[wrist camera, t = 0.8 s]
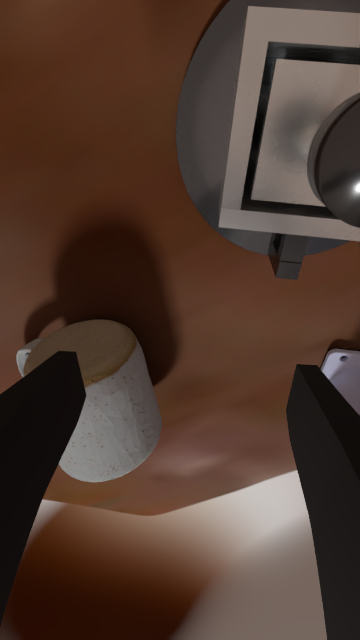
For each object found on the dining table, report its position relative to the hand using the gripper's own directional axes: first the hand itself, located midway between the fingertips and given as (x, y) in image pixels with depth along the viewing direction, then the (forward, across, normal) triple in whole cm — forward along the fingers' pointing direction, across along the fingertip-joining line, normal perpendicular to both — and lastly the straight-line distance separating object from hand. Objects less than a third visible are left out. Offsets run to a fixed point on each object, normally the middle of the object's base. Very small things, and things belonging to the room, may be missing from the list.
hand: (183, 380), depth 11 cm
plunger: (+7, -5, -6) cm, 11 cm away
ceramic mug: (+11, +8, +9) cm, 16 cm away
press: (+10, -5, -6) cm, 13 cm away
